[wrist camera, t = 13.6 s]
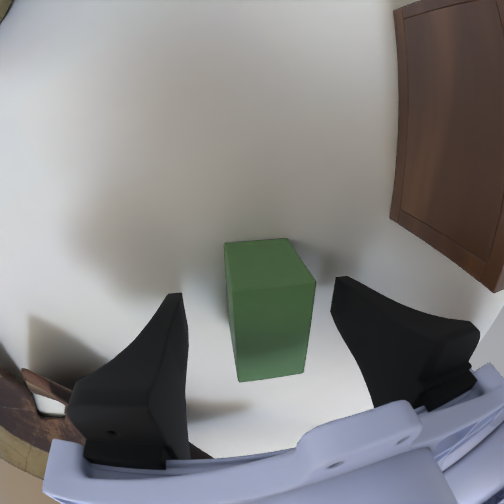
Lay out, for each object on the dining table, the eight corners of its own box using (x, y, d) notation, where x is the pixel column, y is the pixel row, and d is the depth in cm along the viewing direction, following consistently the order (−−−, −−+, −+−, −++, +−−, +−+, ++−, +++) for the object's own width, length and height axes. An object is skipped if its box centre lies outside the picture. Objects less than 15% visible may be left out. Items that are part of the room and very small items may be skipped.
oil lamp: (-76, 267, 10) (-127, 322, 3) (286, 381, 18) (318, 478, 11) (-15, 417, 18) (-30, 462, 11) (208, 481, 26) (214, 533, 19)
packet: (283, 320, 16) (304, 373, 12) (229, 326, 15) (238, 383, 12) (287, 237, 14) (317, 281, 10) (223, 242, 13) (231, 290, 10)
